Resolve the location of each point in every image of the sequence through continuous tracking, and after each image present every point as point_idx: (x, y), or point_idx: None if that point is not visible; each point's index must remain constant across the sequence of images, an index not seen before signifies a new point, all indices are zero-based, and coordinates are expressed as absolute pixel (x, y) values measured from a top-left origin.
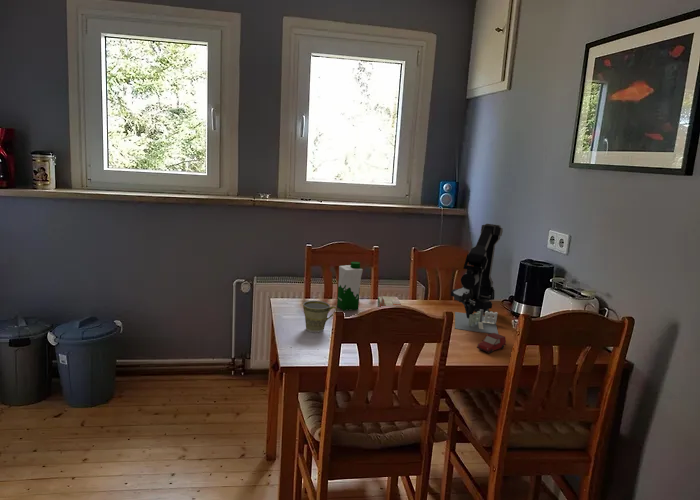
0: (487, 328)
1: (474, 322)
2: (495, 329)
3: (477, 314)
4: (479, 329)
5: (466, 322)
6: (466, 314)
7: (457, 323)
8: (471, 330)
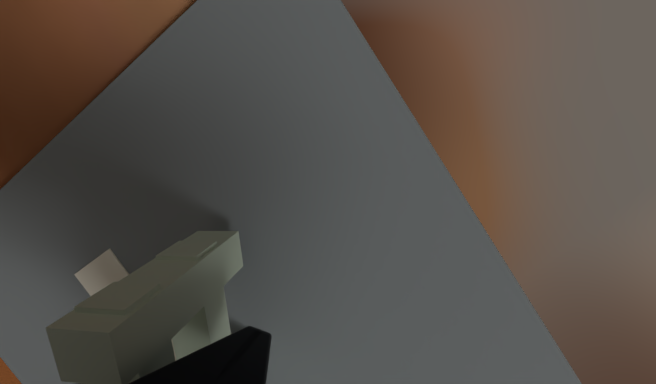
0: None
1: None
2: (28, 371)
3: None
4: (88, 225)
5: (343, 337)
6: (256, 377)
7: (404, 181)
8: (104, 91)
